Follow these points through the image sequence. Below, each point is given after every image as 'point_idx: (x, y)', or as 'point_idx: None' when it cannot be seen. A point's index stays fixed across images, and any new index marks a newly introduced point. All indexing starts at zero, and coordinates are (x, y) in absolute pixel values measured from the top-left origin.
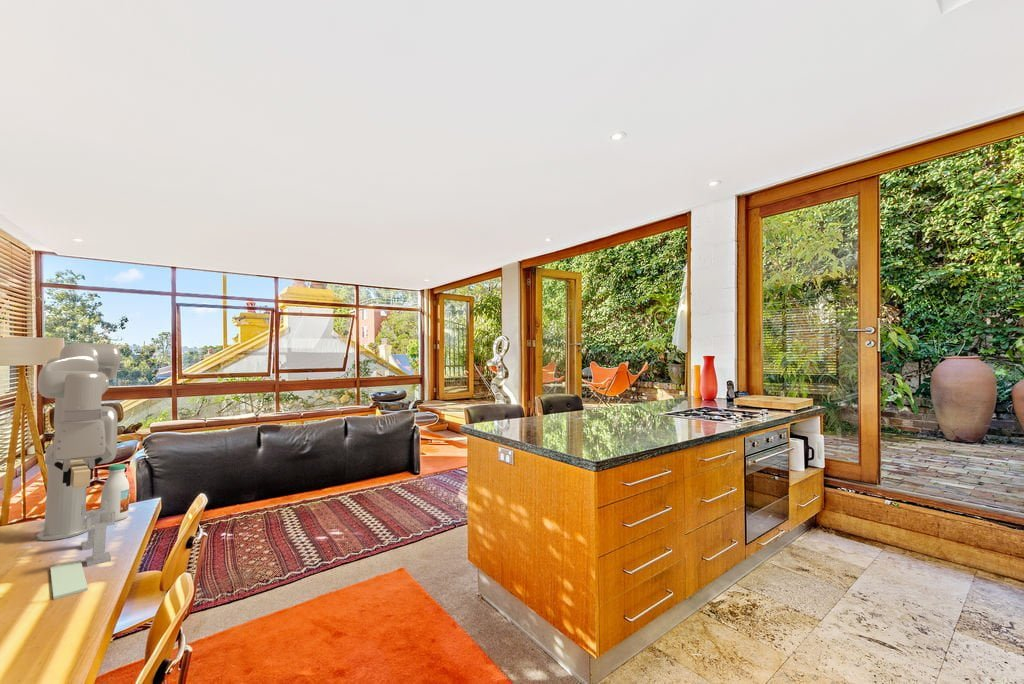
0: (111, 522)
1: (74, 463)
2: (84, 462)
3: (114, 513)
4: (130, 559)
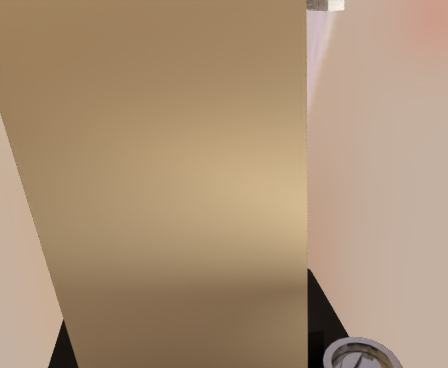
0: (311, 10)
1: (125, 210)
2: (302, 208)
3: (340, 5)
4: (316, 58)
